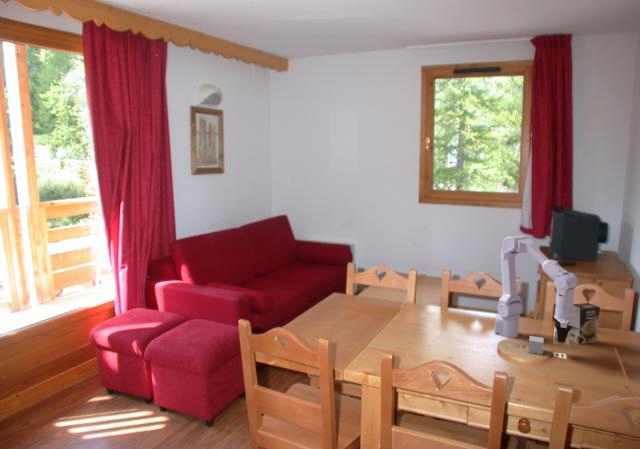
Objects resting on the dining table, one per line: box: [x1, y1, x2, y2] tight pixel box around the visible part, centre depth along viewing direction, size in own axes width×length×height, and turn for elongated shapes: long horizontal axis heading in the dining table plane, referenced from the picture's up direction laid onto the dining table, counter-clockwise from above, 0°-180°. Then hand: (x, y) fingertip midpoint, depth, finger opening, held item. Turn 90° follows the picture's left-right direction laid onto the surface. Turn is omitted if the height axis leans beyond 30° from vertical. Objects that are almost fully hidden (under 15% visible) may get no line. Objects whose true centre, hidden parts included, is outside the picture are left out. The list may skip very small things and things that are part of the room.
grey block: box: [528, 335, 545, 355], centre depth 186 cm, size 5×5×5 cm
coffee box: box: [568, 302, 601, 345], centre depth 196 cm, size 9×6×16 cm
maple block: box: [553, 326, 570, 347], centre depth 182 cm, size 5×5×5 cm
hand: (561, 339), depth 182 cm, fingers closed on maple block, 5 cm apart
